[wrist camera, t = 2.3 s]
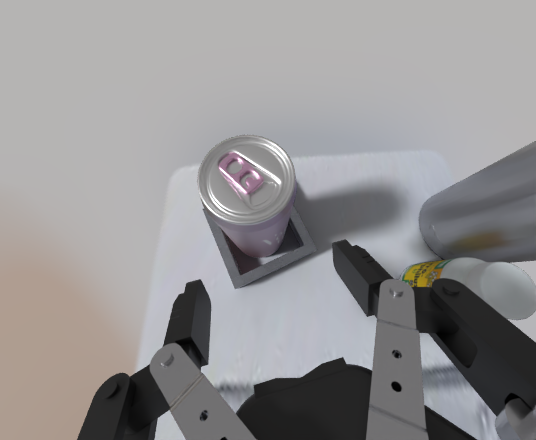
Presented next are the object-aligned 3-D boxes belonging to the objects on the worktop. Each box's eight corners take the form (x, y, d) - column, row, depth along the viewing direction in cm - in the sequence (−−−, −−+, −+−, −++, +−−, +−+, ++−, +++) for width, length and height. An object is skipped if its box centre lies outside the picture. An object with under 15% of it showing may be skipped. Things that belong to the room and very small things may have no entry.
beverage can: (259, 201, 28) (247, 114, 14) (294, 233, 27) (321, 175, 12) (224, 233, 27) (172, 177, 12) (259, 269, 26) (244, 251, 11)
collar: (277, 185, 29) (278, 176, 26) (313, 252, 26) (317, 249, 24) (208, 215, 28) (202, 209, 25) (238, 288, 25) (235, 289, 23)
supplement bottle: (429, 324, 24) (528, 350, 15) (387, 289, 25) (456, 292, 16) (455, 286, 25) (563, 288, 16) (414, 254, 26) (493, 238, 17)
